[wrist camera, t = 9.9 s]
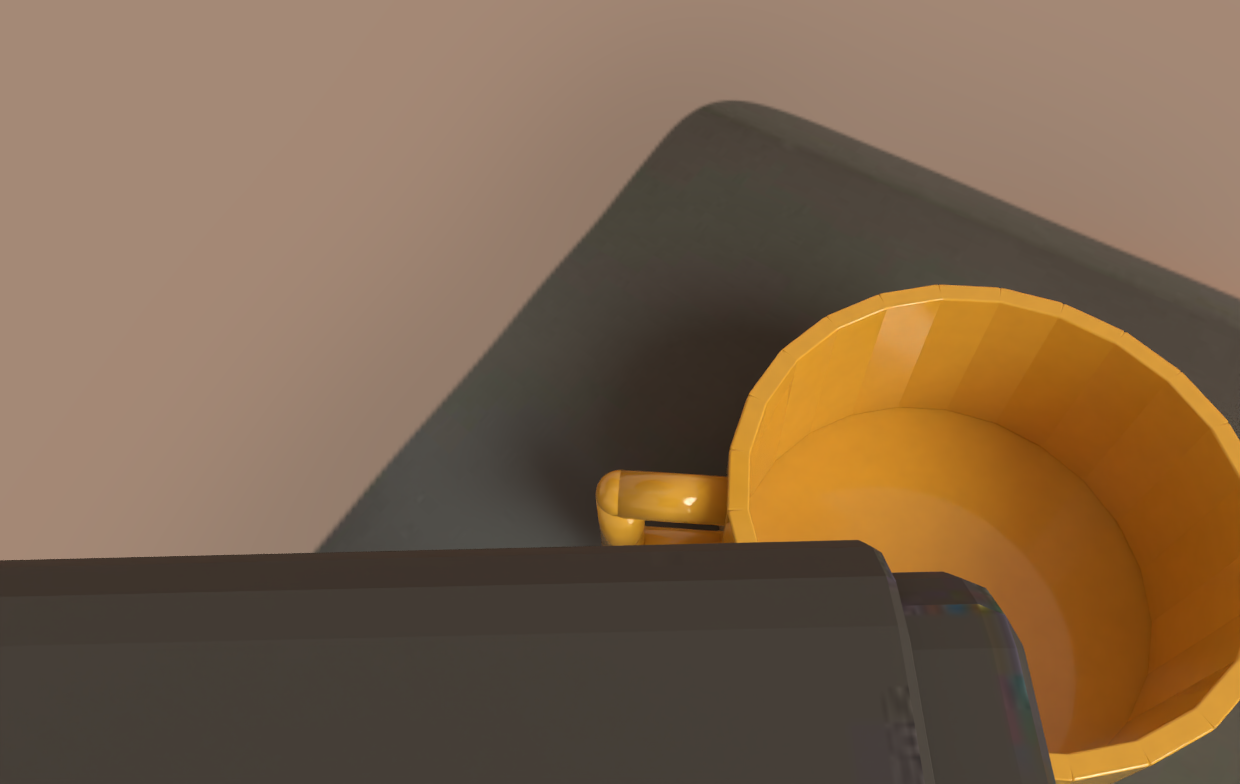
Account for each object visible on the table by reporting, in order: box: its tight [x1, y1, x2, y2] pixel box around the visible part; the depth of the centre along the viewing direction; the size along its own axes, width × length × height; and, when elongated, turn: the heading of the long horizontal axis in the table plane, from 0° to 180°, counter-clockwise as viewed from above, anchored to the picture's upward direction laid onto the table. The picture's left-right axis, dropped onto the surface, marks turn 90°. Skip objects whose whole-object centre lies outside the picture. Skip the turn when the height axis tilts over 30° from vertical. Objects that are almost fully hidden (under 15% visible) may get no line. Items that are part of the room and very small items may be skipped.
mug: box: [596, 285, 1240, 784], centre depth 29 cm, size 18×14×7 cm
